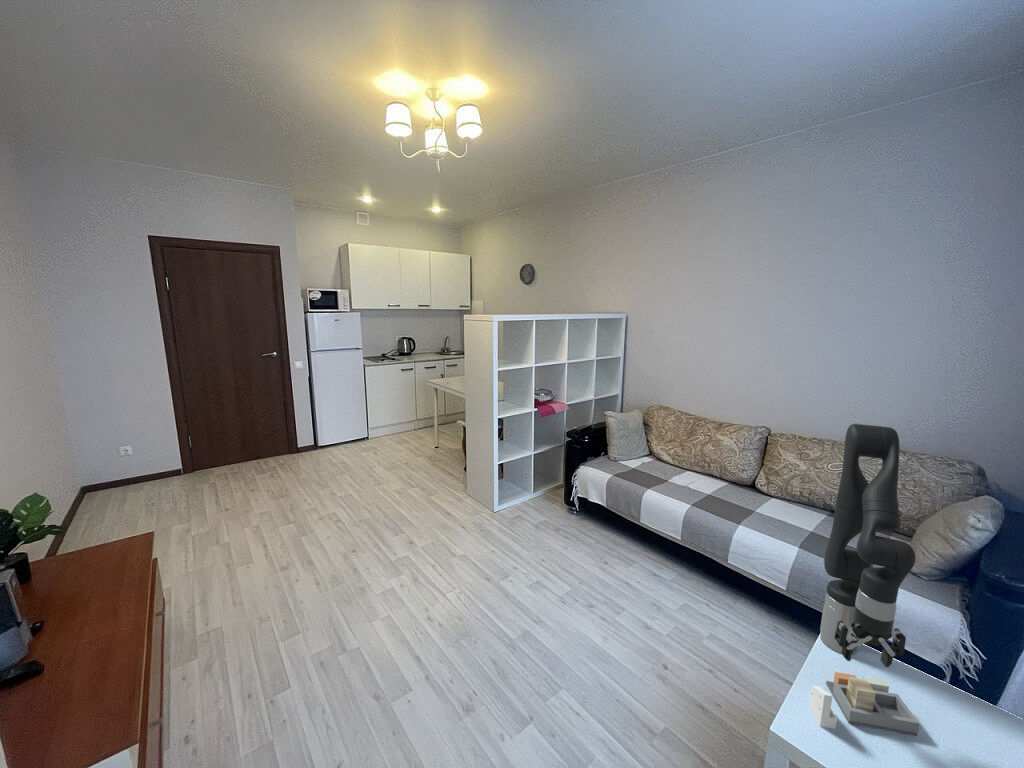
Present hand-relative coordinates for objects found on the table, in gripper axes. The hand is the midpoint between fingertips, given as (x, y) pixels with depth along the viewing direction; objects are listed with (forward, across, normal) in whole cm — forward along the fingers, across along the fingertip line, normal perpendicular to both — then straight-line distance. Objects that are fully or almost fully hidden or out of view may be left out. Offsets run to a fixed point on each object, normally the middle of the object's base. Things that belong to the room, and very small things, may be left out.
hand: (865, 661), depth 105 cm
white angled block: (+16, +10, +4) cm, 20 cm away
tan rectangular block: (+15, 0, 0) cm, 15 cm away
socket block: (+16, -3, -1) cm, 17 cm away
